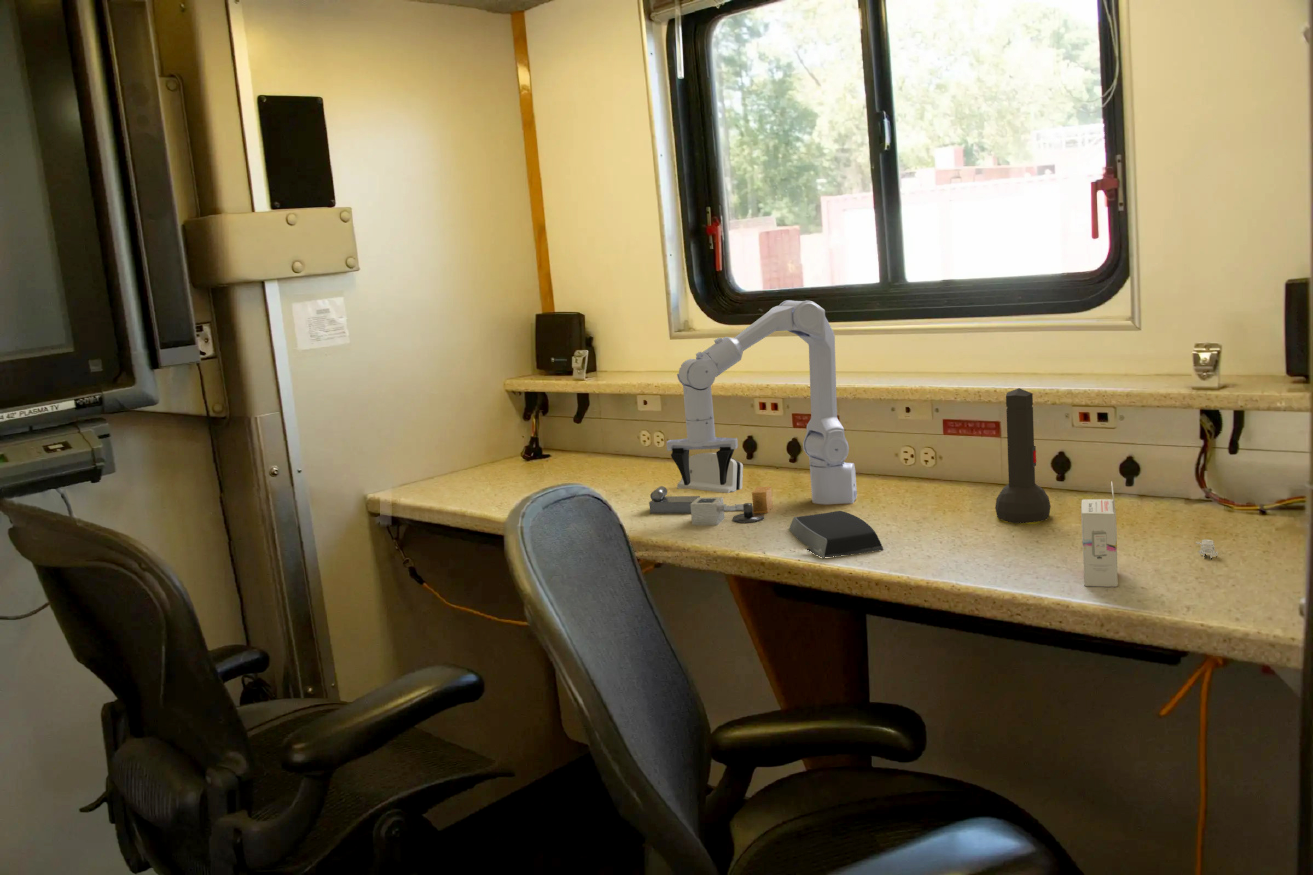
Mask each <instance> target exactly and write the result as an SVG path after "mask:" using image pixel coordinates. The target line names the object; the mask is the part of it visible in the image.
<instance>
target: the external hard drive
mask: <svg viewBox="0 0 1313 875" xmlns="http://www.w3.org/2000/svg"><path fill="white" fill-rule="evenodd" d="M788 529H789V531H790V532H791V533H792V535H794V537H795V538H796V539H797V540H798V541H799V542H801V543H802V544H803V545H805V546H807V547H808V548H806V549H807V550H809V551H811V552H812V553H814V554H815V555H818V556H820V557H822V558H825V557H833V556H834V558H836V557H835V556H841V555H848V556H852V555H851V554H854V555H859V553H861V554H866V553H867V552H868V553H873V552H872V551H874V552H879V550H881V551H884V547H883V545H882V542H881V540H880V538H879V536H878V534H877V533H876V532H875V530H874V528H872V526H870V525H869V523H867V522H866V521H865V520H863V519H862V518H860V517H858V516H856V515H854V514H852V513H848V512H846V511H844V510H843V511H842V510H836V511H830V512H823V513H822V512H821V513H817V514H809V515H801V516H794V517H793V518H792V521H791V523H790V525H789V528H788ZM807 550H806V551H807ZM809 551H808V552H809ZM812 553H811V554H812ZM814 554H813V555H814ZM815 555H814V556H815ZM841 557H842V556H841Z"/></svg>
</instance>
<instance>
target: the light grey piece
mask: <svg viewBox="0 0 1313 875" xmlns="http://www.w3.org/2000/svg"><path fill="white" fill-rule="evenodd" d="M689 471H690V484H689V485H684V481H683V478H682V477H681V480H679V482H678V483H677V486H676V489H678V490H679V489H680V490H682V489H685V490H687V489H688V490H689V489H691V490H698V491H699V490H700V491H706V492H707V491H708V492H716V493H725V494H730V493H731V492H733V493H734V492H737V491H738V490H742V489H743V478H744V477H743V475H744V465H743V463H742V462H740V461H738V460H737V459H736V458H734V457H731V460H730V463H729V467H728V471H727V478H726V483H725V484H724V485H720V473H719V464H718V459H717V455H716V452H705V453H703V452H701V453H696V454H692V455H689Z"/></svg>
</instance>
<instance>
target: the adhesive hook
mask: <svg viewBox="0 0 1313 875" xmlns="http://www.w3.org/2000/svg"><path fill="white" fill-rule="evenodd" d="M1195 544H1198V545H1201V546H1200V547H1199V548H1200V550H1198V551H1197V552H1198V554H1203V556H1202V558H1203V557H1204V556H1205V557H1206V555H1205V554H1207V556H1208V555H1209V556H1210V557H1209V558H1210V559H1211V558H1212V557H1213V556H1217V555H1219V553H1218V551H1215V550H1216V548H1215V547H1216V546H1215V541H1214V540H1212V539H1202V540H1201V542H1200V541H1195ZM1205 557H1204V558H1205Z"/></svg>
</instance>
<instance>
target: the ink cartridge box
mask: <svg viewBox="0 0 1313 875" xmlns="http://www.w3.org/2000/svg"><path fill="white" fill-rule="evenodd" d="M1110 483H1111V484H1110V485H1111V494H1112V499H1108V498H1105V499H1104V498H1103V499H1100V498H1099V499H1089V498H1088V499H1081V502H1080V503H1081V504H1080V505H1081V506H1080V521H1081V540H1082V541H1081V542H1082V556H1083V558H1082V559H1083V579H1084V580H1083V581H1084V583H1083V584H1084V587H1109V588H1112V587H1113V588H1116V587H1118V531H1117V510H1116V502H1115V491H1114V484H1113V481H1112V480H1111V482H1110Z"/></svg>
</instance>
